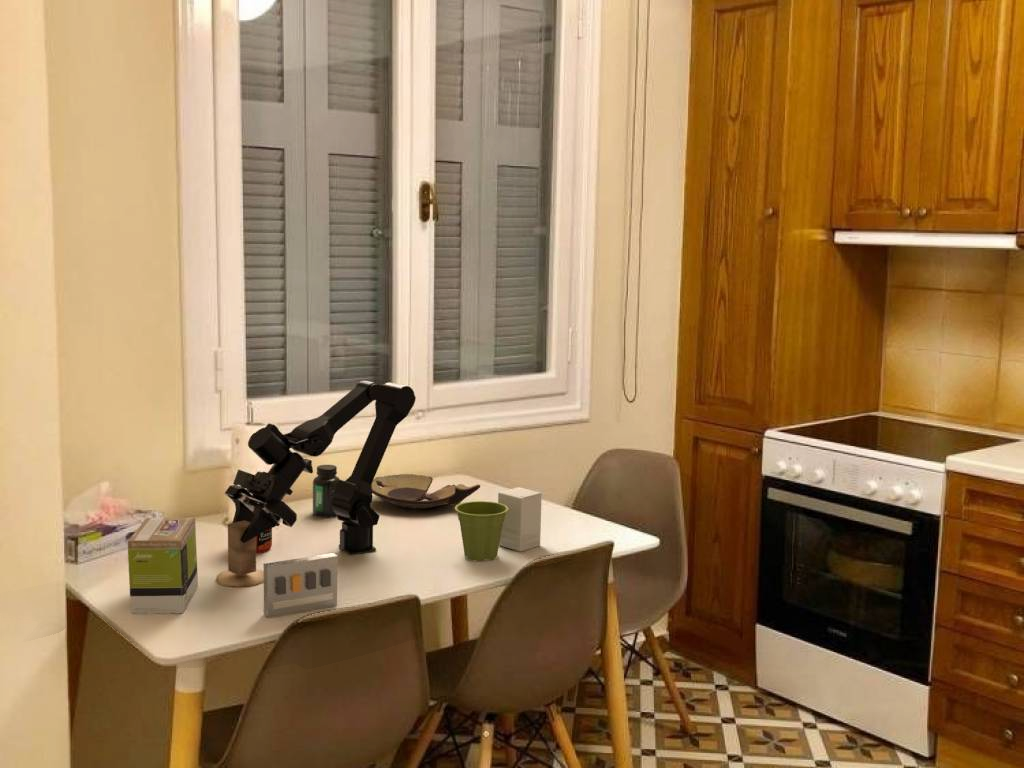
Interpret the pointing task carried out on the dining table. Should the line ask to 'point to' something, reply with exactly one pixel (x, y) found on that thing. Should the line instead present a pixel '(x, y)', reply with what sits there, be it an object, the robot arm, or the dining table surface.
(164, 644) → the dining table surface
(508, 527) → the supplement box
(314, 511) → the supplement bottle
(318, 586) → the breaker panel
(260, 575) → the coaster
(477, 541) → the plant pot
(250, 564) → the walnut block
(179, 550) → the tea box
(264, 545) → the canned food
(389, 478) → the broken bowl
